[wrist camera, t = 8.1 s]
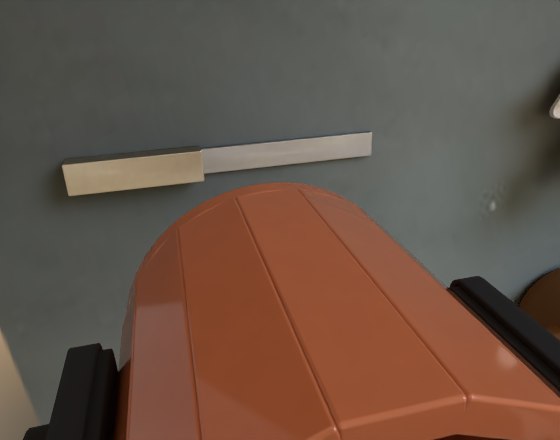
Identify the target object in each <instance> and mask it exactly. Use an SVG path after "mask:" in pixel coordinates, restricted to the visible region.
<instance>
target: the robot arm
mask: <svg viewBox="0 0 560 440" xmlns="http://www.w3.org/2000/svg"><path fill="white" fill-rule="evenodd" d="M449 289H450V290H451V291H452V292H453V293H454V294H455V295H457V296H458V297H459V298H460V299H461V300H462V301H463V302H464V303H465V304H466V305H467V306H468V307H469V308H470V309H472V310H473V311H474V312H475V313H476V314H477V315H478V316H479V317H480V318H481V319H482V320H483V321H484V322H485V323H486V324H488V325H489V326H490V327H491V328H492V329H493V330H494V331H495V332H496V333H497V334H498V335H499V336H500V337H501V338H503V339H504V340H505V341H506V342H507V343H508V344H509V345H510V346H511V347H512V348H513V349H514V350H515V351H516V352H518V353H519V354H520V355H521V356H522V357H523V358H524V359H525V360H526V361H527V362H528V363H529V364H530V365H531V366H533V367H534V368H535V369H536V370H537V371H538V372H539V373H540V374H541V375H542V376H543V377H544V378H545V379H546V380H548V381H549V382H550V383H551V384H552V385H553V386H554V387H555V388H556V389H557V390H558V391H559V392H560V340H559V339H558V338H556V337H555V336H554V335H553V334H551V333H550V332H549V331H548V330H546V329H545V328H544V327H543V326H542V325H540V324H539V323H538V322H537V321H535V320H534V319H533V318H532V317H530V316H529V315H528V314H527V313H525V312H524V311H523V310H522V309H520V308H519V307H518V306H517V305H516V304H514V303H513V302H512V301H511V300H509V299H508V298H507V297H506V296H504V295H503V294H502V293H501V292H499V291H498V290H497V289H496V288H495V287H493V286H492V285H491V284H490V283H488V282H487V281H486V280H485V279H483V278H482V277H480V276H474V277H469V278H463V279H458V280H454V281H452V283H451V285H450V288H449ZM117 379H118V370H117V366H116V361H115V357H114V353H113V350H112V349H106V350H103V349H102V346H101V344H100V343H97V344H91V345H86V346H80V347H74V348H70V349H69V350H68V352H67V356H66V360H65V364H64V368H63V372H62V376H61V380H60V384H59V388H58V392H57V396H56V400H55V404H54V408H53V412H52V416H51V420H50V423H49V424H47V425H42V426H37V427H33V428H29V429H28V430H27V432H26V434H25V436H24V438H23V440H112V430H113V420H114V409H115V399H116V389H117Z"/></svg>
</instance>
